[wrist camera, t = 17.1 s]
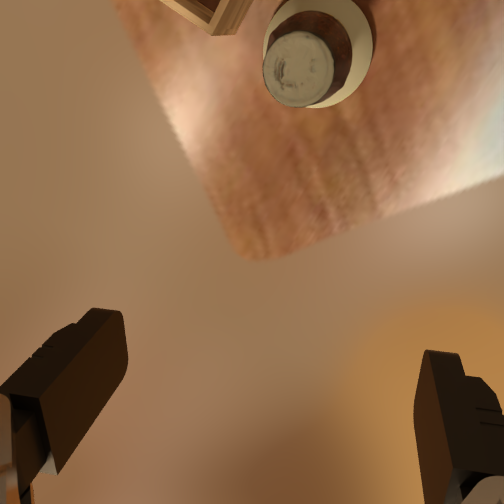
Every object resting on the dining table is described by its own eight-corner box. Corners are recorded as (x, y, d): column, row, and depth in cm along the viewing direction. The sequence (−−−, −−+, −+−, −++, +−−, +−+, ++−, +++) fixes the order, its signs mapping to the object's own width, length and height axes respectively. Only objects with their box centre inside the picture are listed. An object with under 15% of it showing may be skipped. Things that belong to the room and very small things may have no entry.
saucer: (378, -11, 41) (379, -11, 41) (366, 109, 45) (366, 110, 45) (265, -10, 43) (264, -10, 42) (263, 105, 47) (262, 106, 47)
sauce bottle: (270, 60, 45) (211, 81, 27) (309, -3, 42) (271, -27, 24) (326, 101, 45) (304, 147, 28) (369, 41, 42) (374, 50, 25)
